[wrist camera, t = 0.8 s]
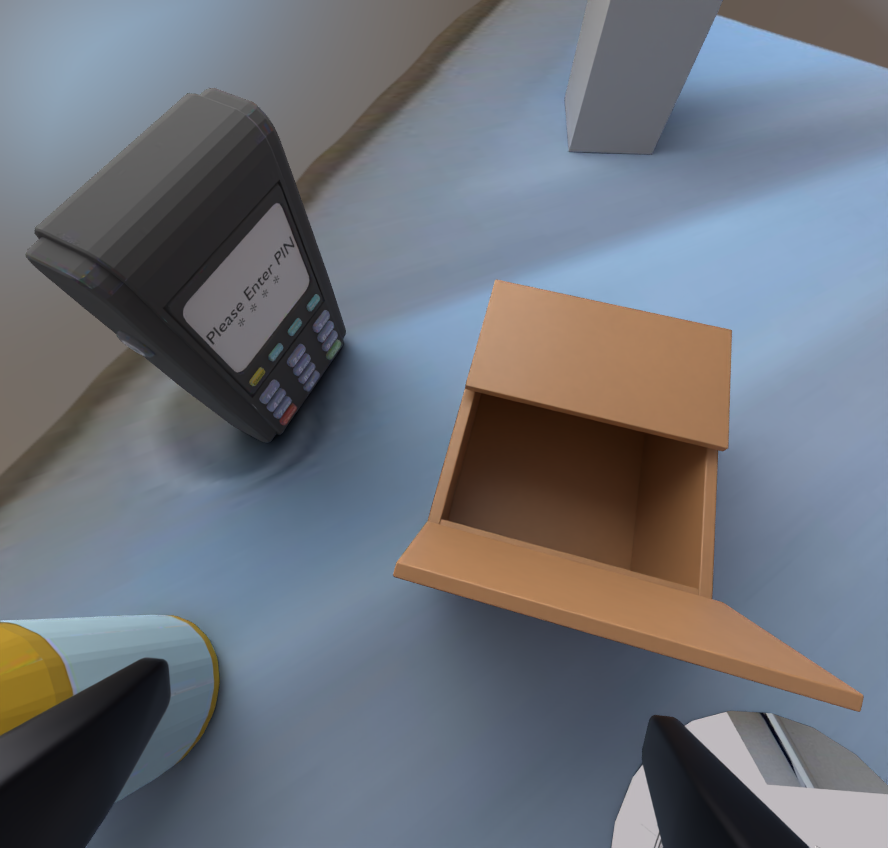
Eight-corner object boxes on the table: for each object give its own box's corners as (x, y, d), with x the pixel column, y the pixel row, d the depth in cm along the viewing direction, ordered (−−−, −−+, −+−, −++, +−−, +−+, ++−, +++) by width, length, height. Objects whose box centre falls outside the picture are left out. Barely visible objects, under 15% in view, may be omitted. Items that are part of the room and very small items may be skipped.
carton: (632, 605, 23) (725, 607, 15) (431, 549, 24) (424, 524, 17) (652, 405, 28) (733, 328, 20) (481, 364, 29) (494, 277, 21)
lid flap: (723, 601, 16) (720, 613, 16) (427, 520, 17) (424, 531, 17) (865, 696, 10) (861, 713, 10) (396, 561, 11) (392, 577, 11)
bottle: (80, 638, 23) (-499, 694, 9) (219, 597, 23) (-113, 588, 9) (78, 801, 20) (-745, 1246, 6) (233, 749, 21) (-191, 1042, 7)
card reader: (277, 457, 26) (90, 294, 12) (223, 428, 27) (-12, 244, 13) (357, 340, 29) (279, 104, 15) (307, 317, 30) (189, 71, 16)
